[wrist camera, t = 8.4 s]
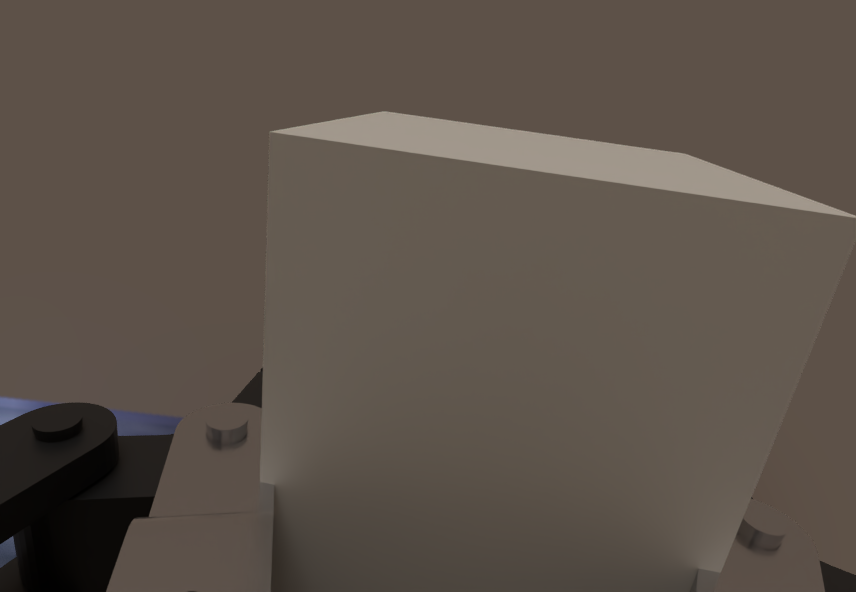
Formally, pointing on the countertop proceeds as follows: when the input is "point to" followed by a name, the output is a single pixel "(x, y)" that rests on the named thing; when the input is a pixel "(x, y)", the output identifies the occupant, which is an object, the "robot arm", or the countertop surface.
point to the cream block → (523, 355)
